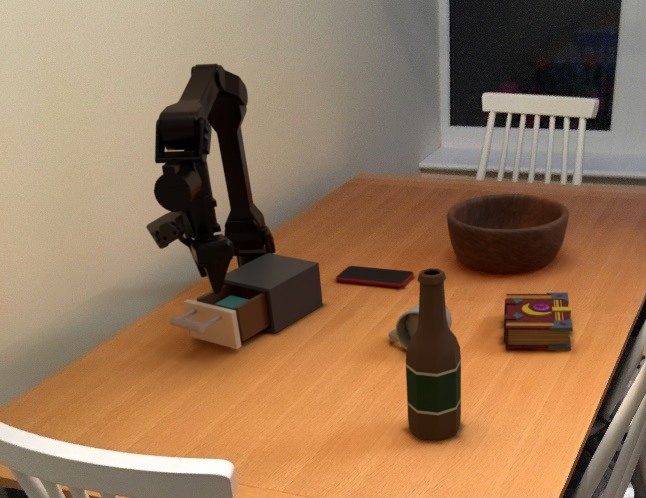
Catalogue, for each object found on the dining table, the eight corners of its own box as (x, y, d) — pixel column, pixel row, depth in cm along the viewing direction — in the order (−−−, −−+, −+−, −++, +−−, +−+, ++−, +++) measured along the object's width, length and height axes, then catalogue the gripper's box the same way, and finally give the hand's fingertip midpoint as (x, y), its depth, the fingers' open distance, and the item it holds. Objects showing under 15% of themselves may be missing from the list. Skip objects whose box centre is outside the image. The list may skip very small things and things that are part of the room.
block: (218, 326, 152) (214, 303, 150) (234, 317, 155) (230, 295, 153) (236, 331, 150) (232, 308, 148) (252, 321, 153) (249, 299, 150)
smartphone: (349, 265, 177) (415, 271, 172) (349, 269, 178) (415, 275, 172) (334, 277, 172) (401, 284, 166) (334, 282, 172) (402, 288, 167)
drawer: (214, 362, 142) (207, 325, 139) (167, 349, 148) (159, 313, 144) (285, 320, 155) (281, 286, 151) (239, 309, 161) (234, 275, 157)
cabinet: (275, 333, 153) (269, 289, 148) (224, 320, 159) (217, 277, 154) (322, 305, 163) (318, 262, 158) (273, 294, 169) (267, 252, 164)
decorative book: (503, 351, 142) (504, 324, 139) (504, 312, 155) (505, 287, 152) (571, 352, 141) (573, 324, 138) (566, 313, 154) (568, 287, 151)
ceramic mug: (455, 338, 147) (454, 297, 143) (435, 357, 141) (434, 315, 137) (401, 330, 152) (399, 290, 147) (380, 348, 146) (377, 307, 142)
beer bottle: (405, 417, 126) (399, 263, 112) (456, 412, 126) (456, 259, 112) (411, 444, 119) (405, 285, 106) (465, 439, 120) (465, 280, 106)
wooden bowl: (431, 274, 173) (430, 225, 167) (467, 235, 192) (467, 190, 186) (550, 286, 164) (554, 235, 159) (576, 244, 183) (580, 196, 177)
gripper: (134, 188, 140) (153, 277, 149) (156, 216, 126) (176, 313, 135) (199, 177, 144) (214, 265, 152) (228, 204, 129) (242, 299, 138)
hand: (210, 285), depth 144 cm, fingers open, 9 cm apart
